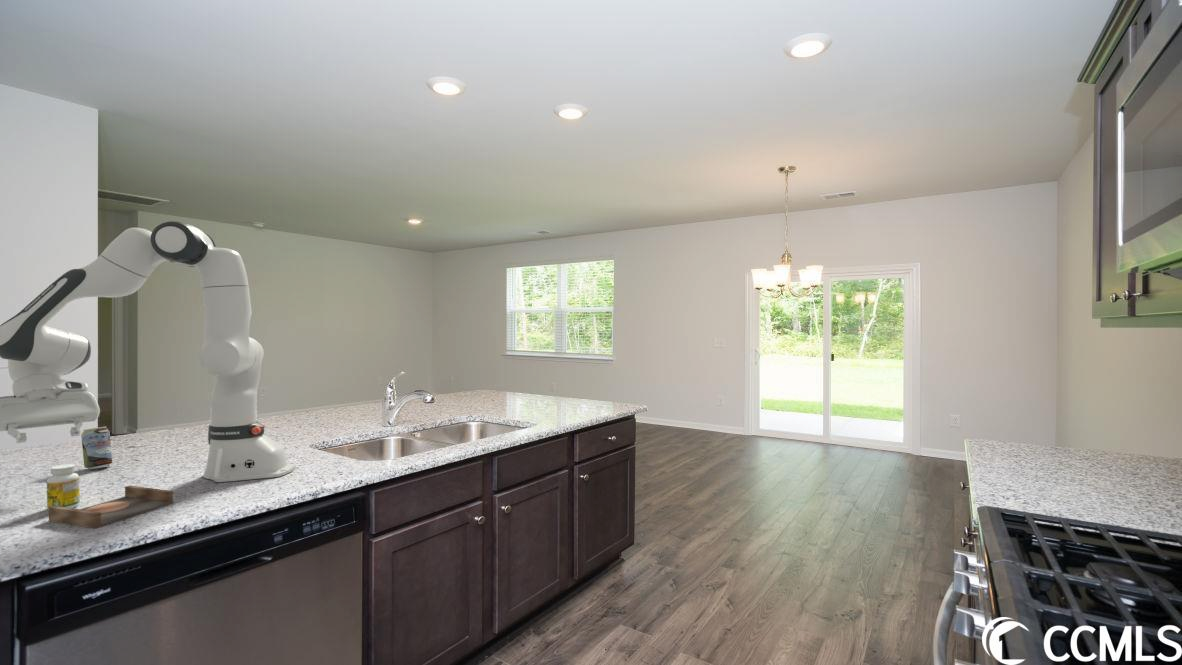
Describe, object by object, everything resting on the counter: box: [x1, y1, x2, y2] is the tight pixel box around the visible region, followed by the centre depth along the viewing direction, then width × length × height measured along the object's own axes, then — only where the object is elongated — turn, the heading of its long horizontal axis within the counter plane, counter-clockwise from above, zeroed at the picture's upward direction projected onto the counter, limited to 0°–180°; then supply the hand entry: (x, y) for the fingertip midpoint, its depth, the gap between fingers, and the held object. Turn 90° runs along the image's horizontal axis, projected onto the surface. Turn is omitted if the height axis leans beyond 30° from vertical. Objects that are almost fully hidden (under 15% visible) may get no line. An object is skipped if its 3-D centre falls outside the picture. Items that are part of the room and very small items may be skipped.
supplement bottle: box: [46, 463, 81, 511], centre depth 124 cm, size 5×5×10 cm
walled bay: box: [48, 485, 174, 529], centre depth 122 cm, size 14×16×3 cm
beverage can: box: [80, 426, 113, 470], centre depth 156 cm, size 6×7×12 cm
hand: (49, 437), depth 131 cm, fingers open, 8 cm apart
